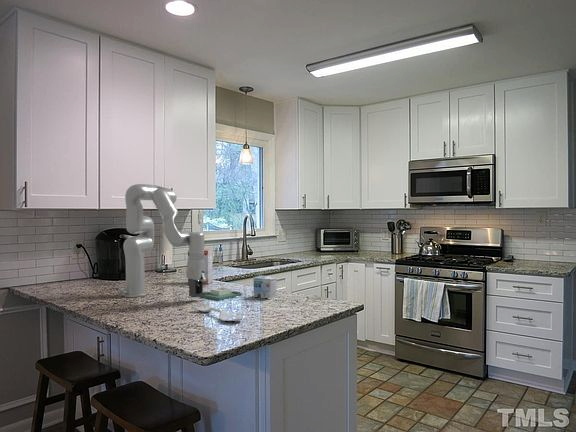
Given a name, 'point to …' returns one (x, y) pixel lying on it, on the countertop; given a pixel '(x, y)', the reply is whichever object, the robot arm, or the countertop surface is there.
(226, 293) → the board
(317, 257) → the countertop surface
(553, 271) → the countertop surface
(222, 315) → the spoon
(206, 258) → the cracker box
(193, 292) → the plug
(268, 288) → the light bulb box
